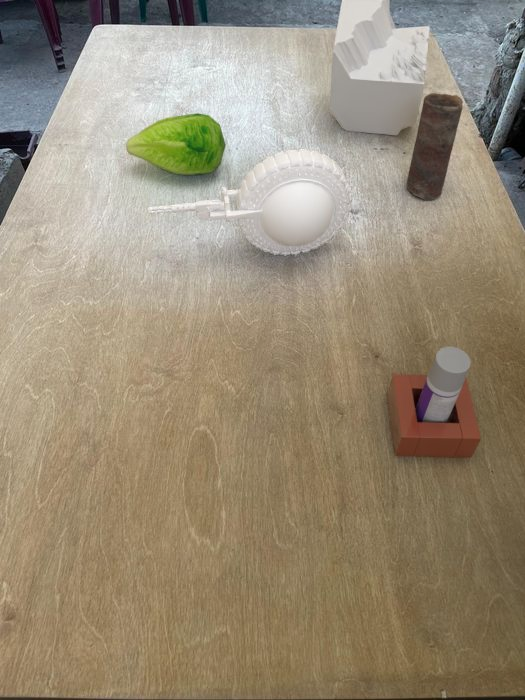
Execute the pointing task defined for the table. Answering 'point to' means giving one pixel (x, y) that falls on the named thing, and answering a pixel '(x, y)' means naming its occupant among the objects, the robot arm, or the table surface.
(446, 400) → the container
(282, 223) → the tracked sphere vehicle
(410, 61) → the white carved sculpture block
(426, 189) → the rusty brown cylinder
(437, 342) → the table surface
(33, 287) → the table surface
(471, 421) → the holder
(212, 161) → the lettuce
